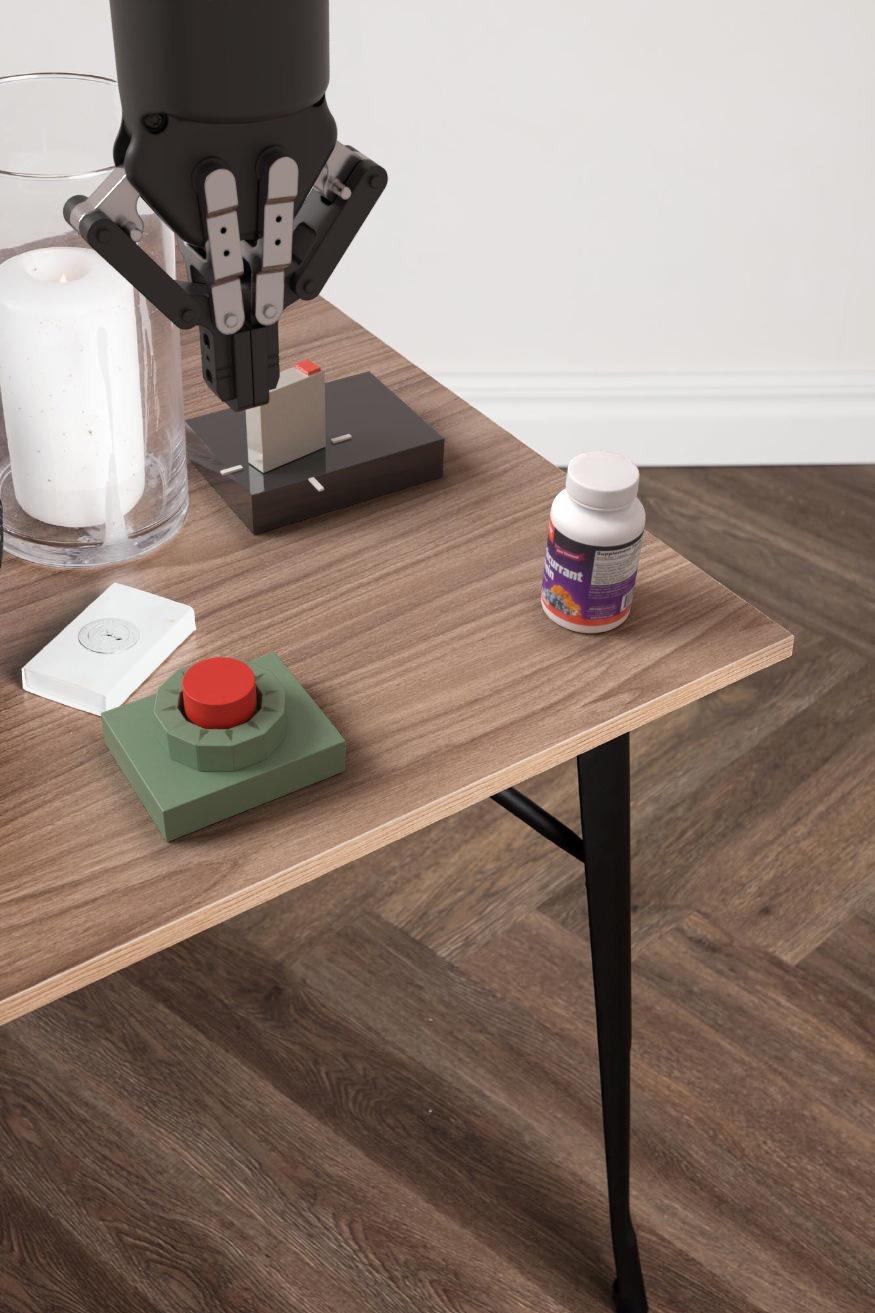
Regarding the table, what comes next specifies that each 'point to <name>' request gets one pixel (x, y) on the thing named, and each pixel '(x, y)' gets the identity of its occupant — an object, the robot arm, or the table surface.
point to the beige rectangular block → (288, 419)
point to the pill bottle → (594, 544)
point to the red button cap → (219, 693)
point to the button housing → (222, 751)
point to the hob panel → (320, 456)
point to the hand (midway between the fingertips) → (242, 400)
